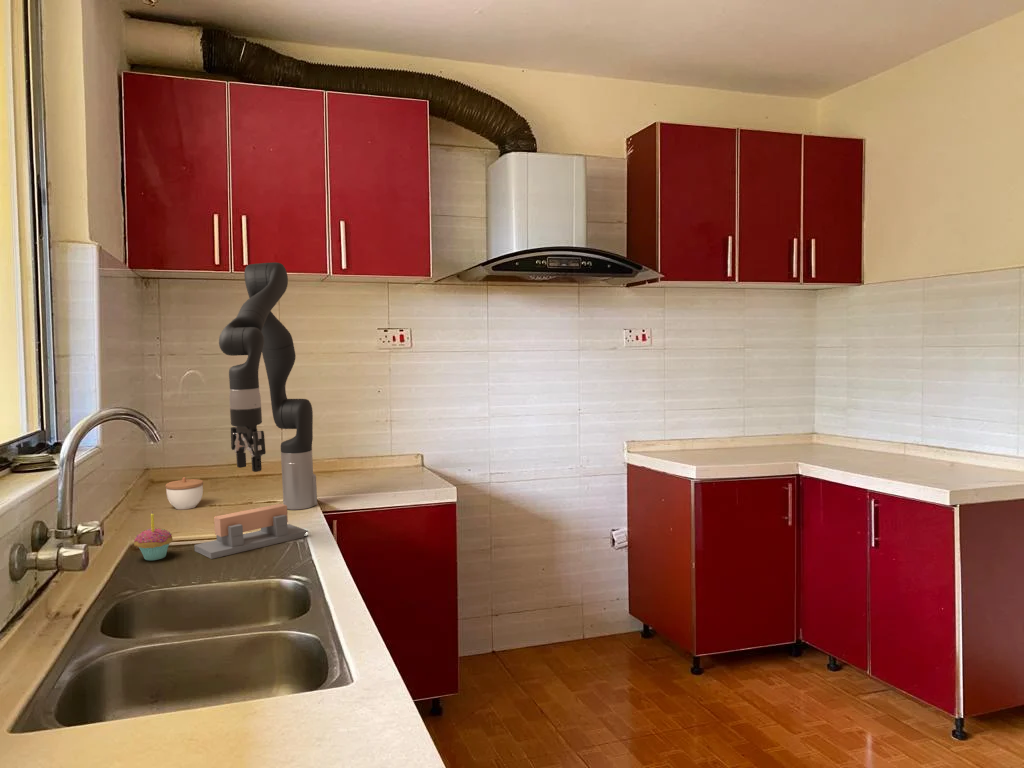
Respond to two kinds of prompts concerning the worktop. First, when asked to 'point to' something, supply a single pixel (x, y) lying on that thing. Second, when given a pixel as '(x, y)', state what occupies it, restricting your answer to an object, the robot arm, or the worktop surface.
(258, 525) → the clay strip
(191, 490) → the lidded jar
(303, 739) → the worktop surface
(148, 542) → the cupcake
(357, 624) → the worktop surface
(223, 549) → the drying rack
